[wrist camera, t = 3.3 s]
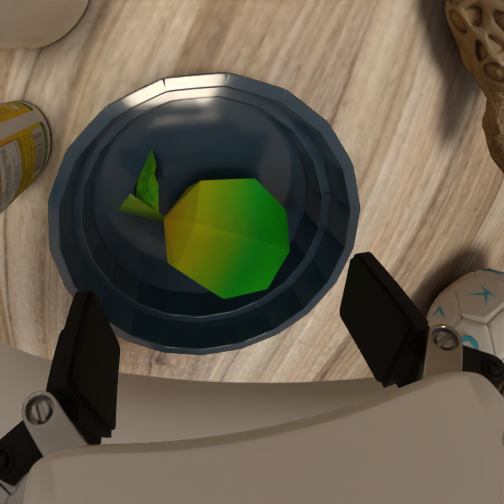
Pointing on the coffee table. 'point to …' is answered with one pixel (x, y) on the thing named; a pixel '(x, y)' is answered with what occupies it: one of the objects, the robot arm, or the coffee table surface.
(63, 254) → the bowl
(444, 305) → the puzzle ball
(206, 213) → the apple
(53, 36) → the drinking glass
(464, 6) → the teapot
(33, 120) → the supplement bottle
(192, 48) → the coffee table surface
